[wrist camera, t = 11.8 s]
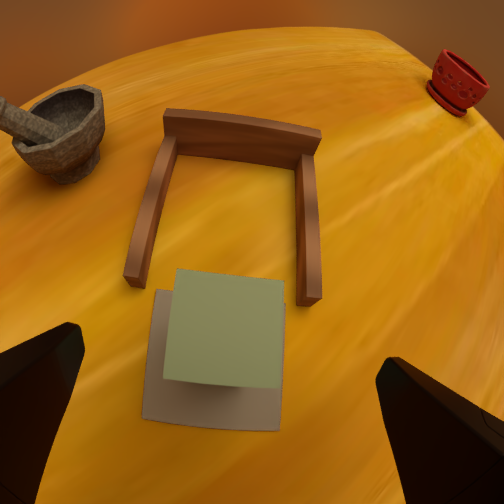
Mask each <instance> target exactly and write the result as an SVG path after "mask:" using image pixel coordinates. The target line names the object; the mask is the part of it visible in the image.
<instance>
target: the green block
mask: <svg viewBox="0 0 504 504" xmlns="http://www.w3.org/2000/svg"><path fill="white" fill-rule="evenodd" d="M283 302H284V281H281V280H272V279H262V278H253V277H244V276H235V275H226V274H218V273H209V272H201V271H193V270H185V269H177V271H176V278H175V284H174V290H173V297H172V304H171V311H170V319H169V326H168V334H167V343H166V352H165V361H164V371H163V378H165V379H171V380H178V381H186V382H194V383H202V384H212V385H223V386H236V387H253V388H280V381H281V359H282V334H283Z"/></svg>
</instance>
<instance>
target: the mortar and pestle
mask: <svg viewBox="0 0 504 504" xmlns="http://www.w3.org/2000/svg"><path fill="white" fill-rule="evenodd" d="M0 130H2V131H4V132H6V133H8V134H9V135H11V136H13V140H12V145H13V146H14V148H15V150H16V152H17V153H18V154H19V155H20V156H21V158H22V159H23V160H24V161H25V162H26V163H27V164H28V165H30V166H31V167H32V168H33V169H34V170H35V171H37V172H39V173H42V174H45V175H50V176H51V178H52V179H54V180H55V181H56V182H57V183H59V184H68V183H76V182H77V181H79V180H80V179H82V178H83V177H85V176H87V175H88V174H90V173H91V172H92V170H93V169H94V167H95V166H96V164H97V163H98V161H99V160H100V155H99V146H98V145H99V143H100V142H101V140H102V138H103V134H104V132H105V120H104V106H103V98H102V93H101V90H99V89H96V88H93V87H91V86H88V85H85V84H83V85H78V86H73V87H68V88H63V89H59V90H57V91H56V92H54V93H52V94H50V95H49V96H47V97H45V98H43V99H42V100H40V101H38V102H37V103H35V104H34V105H33V106H32V107H31V108H30V109H29V110H28V112H27V111H25V110H23V109H20V108H18V107H16V106H13V105H11V104H9V103H7V101H6V99H5V98H3V97H2V96H0Z"/></svg>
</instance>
